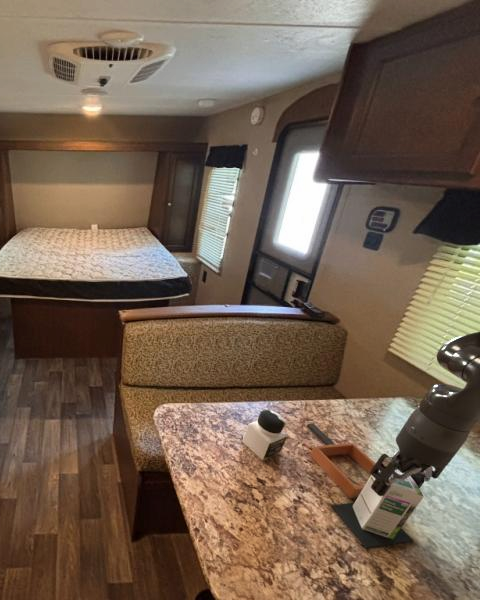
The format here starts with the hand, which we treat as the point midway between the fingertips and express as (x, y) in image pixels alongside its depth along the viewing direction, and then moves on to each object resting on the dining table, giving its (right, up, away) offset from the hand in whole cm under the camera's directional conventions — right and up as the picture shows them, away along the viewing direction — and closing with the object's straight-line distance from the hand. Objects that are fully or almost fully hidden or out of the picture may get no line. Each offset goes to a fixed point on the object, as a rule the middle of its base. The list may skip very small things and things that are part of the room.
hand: (393, 490), depth 68 cm
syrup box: (-1, -10, +5) cm, 11 cm away
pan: (+4, -4, +20) cm, 21 cm away
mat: (-1, -11, +5) cm, 12 cm away
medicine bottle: (-16, -2, +23) cm, 28 cm away
